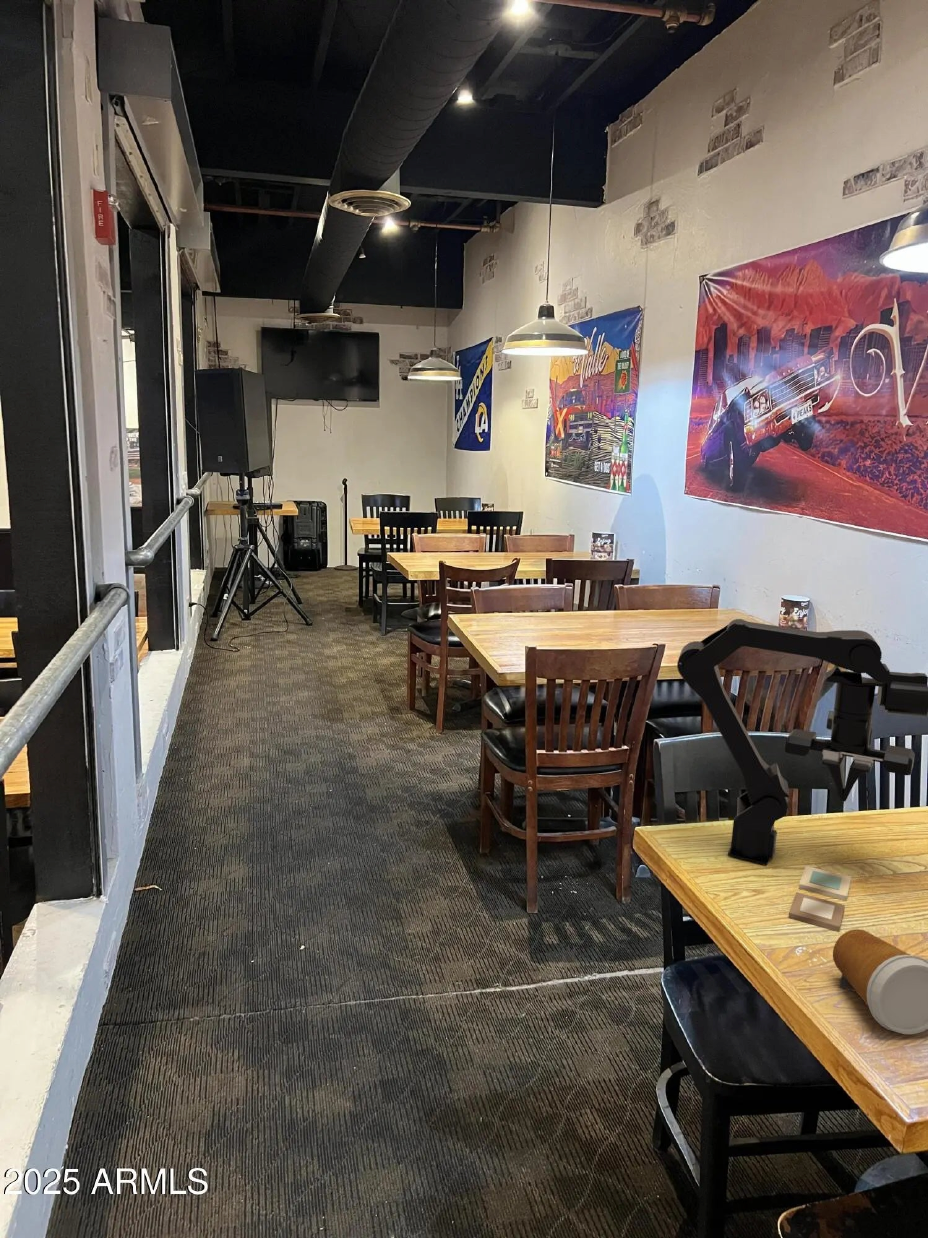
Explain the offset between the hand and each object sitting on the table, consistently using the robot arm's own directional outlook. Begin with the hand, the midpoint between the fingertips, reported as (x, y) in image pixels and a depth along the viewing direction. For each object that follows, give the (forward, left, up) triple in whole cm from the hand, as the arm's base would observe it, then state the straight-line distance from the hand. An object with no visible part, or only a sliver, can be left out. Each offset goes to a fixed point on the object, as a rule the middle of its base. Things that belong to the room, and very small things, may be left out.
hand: (843, 800), depth 139 cm
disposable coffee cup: (+5, -31, -9) cm, 32 cm away
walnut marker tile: (-1, -17, -12) cm, 21 cm away
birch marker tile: (-1, -7, -12) cm, 14 cm away
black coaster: (+6, -33, -12) cm, 35 cm away
